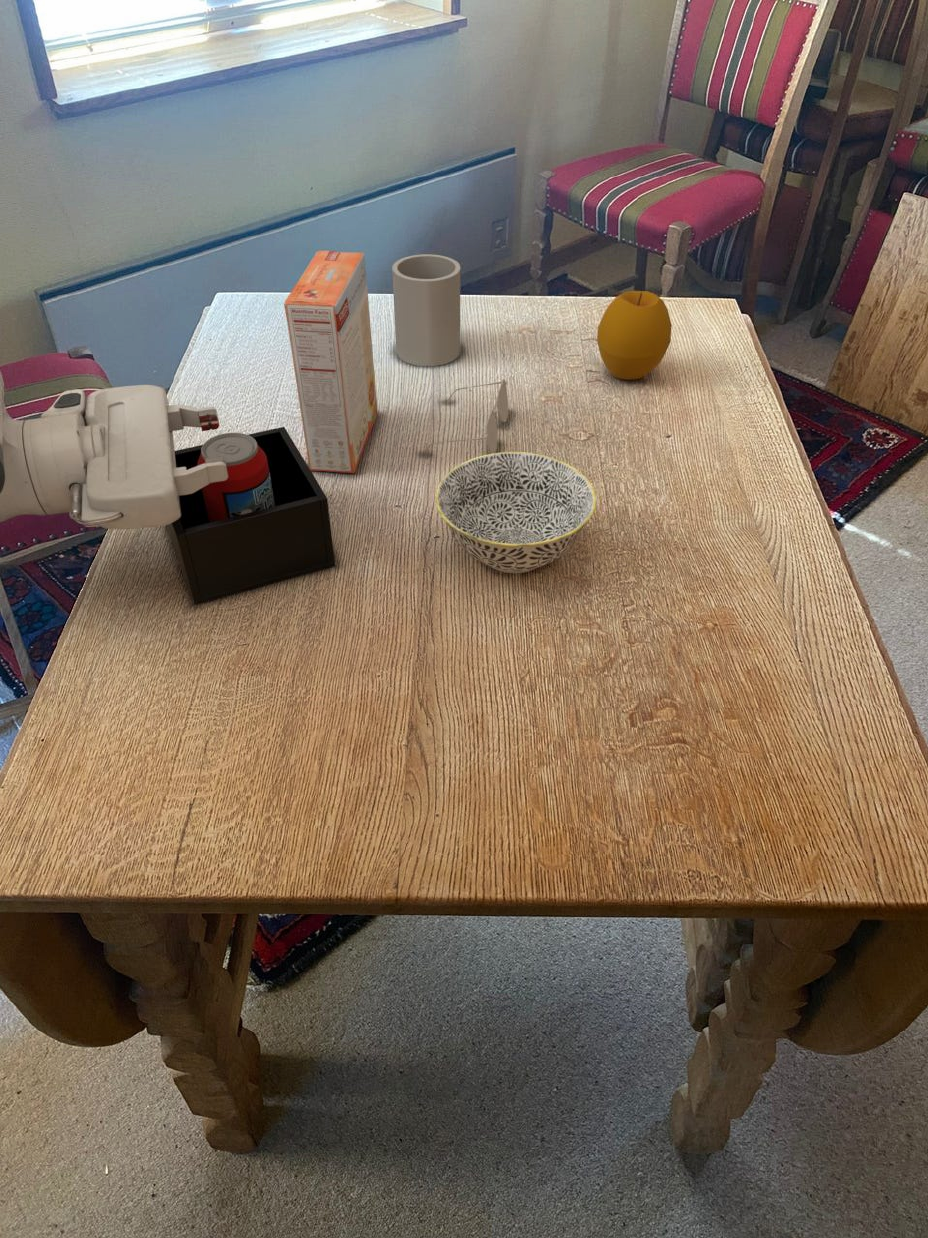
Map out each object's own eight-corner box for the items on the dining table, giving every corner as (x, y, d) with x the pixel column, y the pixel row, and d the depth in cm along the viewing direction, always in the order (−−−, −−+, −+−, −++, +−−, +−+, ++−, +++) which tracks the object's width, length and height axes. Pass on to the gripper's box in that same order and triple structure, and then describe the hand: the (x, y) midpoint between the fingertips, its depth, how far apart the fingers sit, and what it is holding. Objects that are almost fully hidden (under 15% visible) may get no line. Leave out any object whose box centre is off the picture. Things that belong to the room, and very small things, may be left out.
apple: (619, 400, 119) (631, 314, 111) (577, 369, 125) (586, 286, 117) (678, 382, 123) (693, 298, 115) (634, 353, 129) (646, 271, 121)
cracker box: (333, 411, 117) (316, 247, 102) (379, 415, 116) (368, 250, 102) (304, 472, 107) (280, 298, 92) (354, 476, 106) (338, 302, 92)
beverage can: (260, 572, 92) (241, 472, 84) (203, 556, 94) (179, 457, 86) (292, 534, 97) (277, 436, 89) (237, 520, 98) (218, 423, 90)
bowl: (477, 621, 88) (478, 561, 83) (413, 531, 98) (411, 472, 93) (617, 576, 93) (626, 517, 88) (542, 495, 103) (546, 437, 98)
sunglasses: (491, 465, 108) (485, 428, 104) (424, 466, 110) (416, 430, 107) (511, 407, 118) (506, 371, 114) (449, 409, 120) (442, 375, 117)
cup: (459, 366, 126) (460, 281, 118) (394, 365, 126) (390, 280, 118) (460, 337, 132) (460, 254, 124) (398, 336, 133) (394, 253, 124)
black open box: (194, 605, 89) (176, 536, 83) (165, 524, 99) (146, 456, 93) (335, 566, 94) (327, 497, 88) (294, 492, 103) (284, 426, 98)
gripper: (57, 497, 75) (226, 471, 78) (65, 381, 89) (207, 364, 92) (78, 556, 79) (238, 530, 82) (83, 437, 94) (218, 418, 97)
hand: (222, 441), depth 87 cm, fingers open, 8 cm apart
